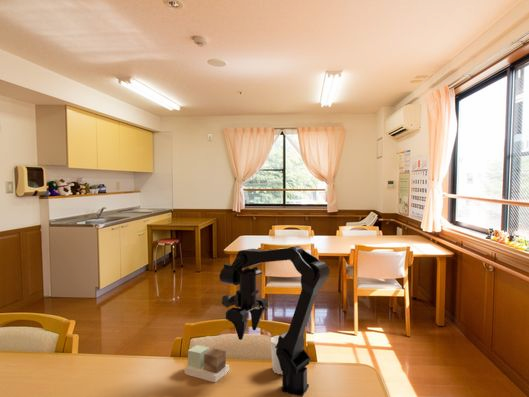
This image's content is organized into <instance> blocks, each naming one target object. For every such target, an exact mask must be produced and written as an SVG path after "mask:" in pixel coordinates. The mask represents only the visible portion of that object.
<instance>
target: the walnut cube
mask: <svg viewBox="0 0 529 397" xmlns="http://www.w3.org/2000/svg"><path fill="white" fill-rule="evenodd" d="M226 352H227V351H226V350H222V349H217V348H211V349H209V351H208V352H207V353H205V354H204V370H206V371H210V372H213V373H218V372H219V371H221V370H222V369H223V368H224V367H226V364H227V362H226V359H227V358H226V357H227V356H226Z"/></svg>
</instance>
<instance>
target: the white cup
mask: <svg viewBox="0 0 529 397" xmlns="http://www.w3.org/2000/svg"><path fill="white" fill-rule="evenodd" d="M280 335H281V334H280ZM280 335H275V336H272V337H271V339H270V353H271V365H272V366H271V367H272V372H273V371H274V372H273V373H275V374H276V373H277V375H279V374H281V376H282V372H283V371H281V367H280V364H279V360H278V357H277V355H276V349H277V348H275V347H276V345H277V343H278V338H279V336H280Z"/></svg>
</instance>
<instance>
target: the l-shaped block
mask: <svg viewBox="0 0 529 397" xmlns="http://www.w3.org/2000/svg"><path fill="white" fill-rule="evenodd" d="M208 351H210V347H209V346H205V345H200V344H196V345H194V346H193V347H191V348H189V349H188V350H187V366H185V367H184V375H188V376H191V377H194V378H199V379H201V380H204V381H208V382H212V383H215V384H216V383H217V382H218V381H219V380H221V379H222V378H223V377H224V376H225V375H227V374H228V373H229V372H230V364H228V363H226V367H224V368H223V369H222V370H221V371H219V372H218V373H213V372H210V371H206V370H204V354H205V353H207V352H208ZM228 371H229V372H228ZM227 372H228V373H227ZM224 374H225V375H224Z"/></svg>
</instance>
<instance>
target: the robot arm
mask: <svg viewBox="0 0 529 397" xmlns="http://www.w3.org/2000/svg"><path fill="white" fill-rule="evenodd" d="M283 261H290V262H292V264H293V267H294V268H295V270H296V271H297V273H299V274H300V275H301V276H300V286H301V291H300V294H299V296H298V300H297V303H296V306H295V309H294V313H293V315H292V319H291V321H290V325H289V327H288V329H287V331H286V332H283V333H282V334H280V336H279V335H278V336H279V338H278V343H277V345H276V347H275V348H277V349H276V355H277V357H278V360H279V364H280V367H281V371H283V372H282V375H281V376H282V377H281V378H282V379H281V380H282V381H281V382H282V384H281V385H282V388H281V391H282V392H283V393H286V394H291V395H293V396H298V397H304V395H305V393H306V391H307V390H308V388H309V387H310V384H309V383H308V367H307V366H309V365H310V362H311V357H310V356H309V354H308V353H307V351H306V349H305V348H304V347H305V339H304V337H305V336H304V334H305V332H306V328H307V325H308V321H309V319H310V315H311V313H312V309H313V307H314V304H315V301H316V298H317V295H318V293H319V292H320V290H321V289H322V288H323V286H324V285H325V284H326V281H327V279H328V278H329V277H330V273H331V271H330V268H329V265H328V264H327V263H326V262H324V261H322V260H320V259H319V258H318V257H316V256H314V255H313V254H311V253H310V252H308V251H306V250H305V249H304V248H303V247H301V246H300V245H295V246H290V247H284V248H277V249H267V250H264V249H259V248H248V249H242V250H239V251H238V252H237V254H236V257H235V259H234V261H233V262H232V264H231V263H224V264H223V268H222V269H221V270H220V274H219V281H220V282H221V283H222V284H227V285H232V286H238V290H236V291H235V294H232V295H230V294H225V295H223V296H222V297H221V298H222V299H221V305H222V306H223V307H225V308H226V309H227V308H229V307H231V308H229V309H228V310H227V311H226V312H225V315H224V316H225V318H224V319H225V320H227V321H228V322H231V323H232V324H233V326H234V328H235V331H236V335H237V338H238V340H240V341H242V340H243V338H244V335H245V333H246V332H245V331H246V328H247V325H248V321H249V319H248V317H249V316H248V315H249V313H250V320H251V329H252V331H256V330H257V329H258V326H259V323H260V321H261V319H262V317H263V315H264V313H265V311H266V308H267V307H268V300H267V299H266V298H264V297H257V294H259V291H260V290H259V288H257V276H260V275H262V274H263V272H262V271H261V270H260V269H259V267H258V266H257V265H260V264H263V263H270V262H283ZM253 266H254V267H253ZM251 267H252V268H251ZM233 306H234V307H233Z"/></svg>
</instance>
